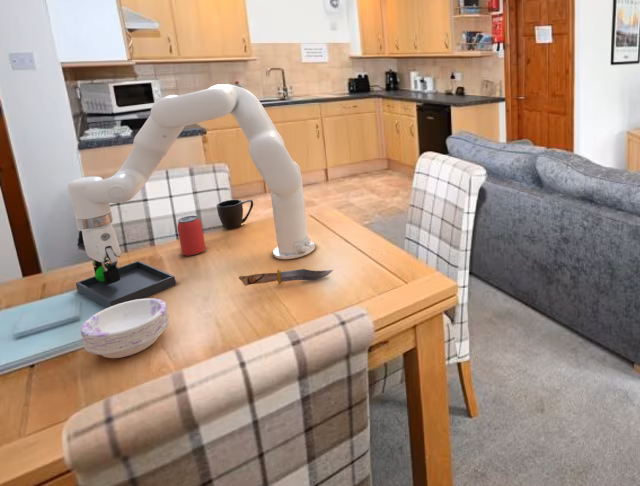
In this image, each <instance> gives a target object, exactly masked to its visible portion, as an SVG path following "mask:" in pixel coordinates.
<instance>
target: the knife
mask: <svg viewBox="0 0 640 486" xmlns="http://www.w3.org/2000/svg"><path fill="white" fill-rule="evenodd" d="M333 271H334V269H327V270H326V269H325V270H311V269H306V268H301V269H300V268H299V269H292V270H284V271H281V270H280V269H277V272H267V273H265V272H263V273H255V274H251V275H240V276H238V279H239V281H241V282H242V284H243V285H244V286H246V287H247V286H250V285H256V284H257V285H258V284H267V283H273V282H277V283H278V286H280V285H281V284H282V283H285V282H292V281H293V282H294V281H307V282H313V281H319V280H321V279H323V278H325V277H327V276H329V275H330V274H331V273H332V272H333Z"/></svg>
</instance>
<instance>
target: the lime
mask: <svg viewBox="0 0 640 486" xmlns="http://www.w3.org/2000/svg"><path fill="white" fill-rule="evenodd" d="M106 265H107V264H106ZM103 272H104V269H103V266H101V267H99V268H98V269H97V270H96V272H95V271H94V276H95V278H96V279H97V280H99V281H100V282H105V279H104V275H103Z"/></svg>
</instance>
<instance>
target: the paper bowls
mask: <svg viewBox="0 0 640 486" xmlns="http://www.w3.org/2000/svg"><path fill="white" fill-rule="evenodd" d="M169 324H170V318H169V311H168V306H167V303H166V302H165V301H164V300H162V299H160V298H148V297H145V298H143V299H137V300H132V301H127V302H123V303H120V304H117V305H114V306H111V307H109V308H106V307H105V308H104V309H102V310H100V311H98V312H96V313H94V314H93V315H92V316H90V317H88V318H87V319H86V320H85V321H84V322H83V324H81V327H80V335H81V339H82V344H83V348H84V350H85V352H87V353H89V354H92V355H99V356H102V357H103V358H106V359H119V358H120V359H121V358H126V357H129V356H132V355H136V354H138V353H140V352H142V351H144V350H146V349H147V348H149V347H150V346H151V345H153V344H154V343H155V342H156V341H157V340H158V339H159V337H160V335H162V334H163V333H164V332H165V331H166V330H167V328H168V327H169Z"/></svg>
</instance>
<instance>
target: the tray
mask: <svg viewBox="0 0 640 486" xmlns="http://www.w3.org/2000/svg"><path fill="white" fill-rule="evenodd" d="M118 272H119V277H120V280H119V281H117V282H114V283H111V284H109V285H107V284H105V282H100V281H99V280H97V279H96V278H95V275H93V276H91V277H88V278H85V279H83V280H80V281H77V282H75V287H76V290H77V292H78V293H79V294H81V295H83V296H84V297H86V298H88V299H90V300H92V301H93V302H95V303H97V304H99V305H101V306H102V307H104V308H105V309H106V308H109V307H111V306H114V305H117V304H120V303H123V302H127V301H132V300H137V299H146V298H148V297H150V296H152V295H155V294H157V293H159V292H162V291H165V290H167V289H169V288H172V287H174V286H176V285H177V282H176V278H175V277H176V276H175V275H173V274H171V273H169V272H167V271H164V270H161V269H159V268H157V267H154V266H152V265H150V264H147V263H146V262H143V261H140V260H136V261H134V262H131V263H128V264H124V265H123V266H118Z"/></svg>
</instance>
